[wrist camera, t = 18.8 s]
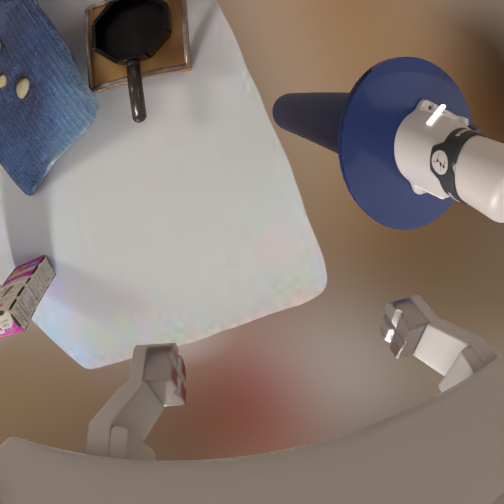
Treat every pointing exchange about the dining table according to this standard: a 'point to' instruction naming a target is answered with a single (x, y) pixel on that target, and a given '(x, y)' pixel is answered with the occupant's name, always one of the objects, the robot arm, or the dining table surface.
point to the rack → (164, 61)
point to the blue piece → (37, 94)
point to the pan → (132, 40)
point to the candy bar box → (23, 294)
